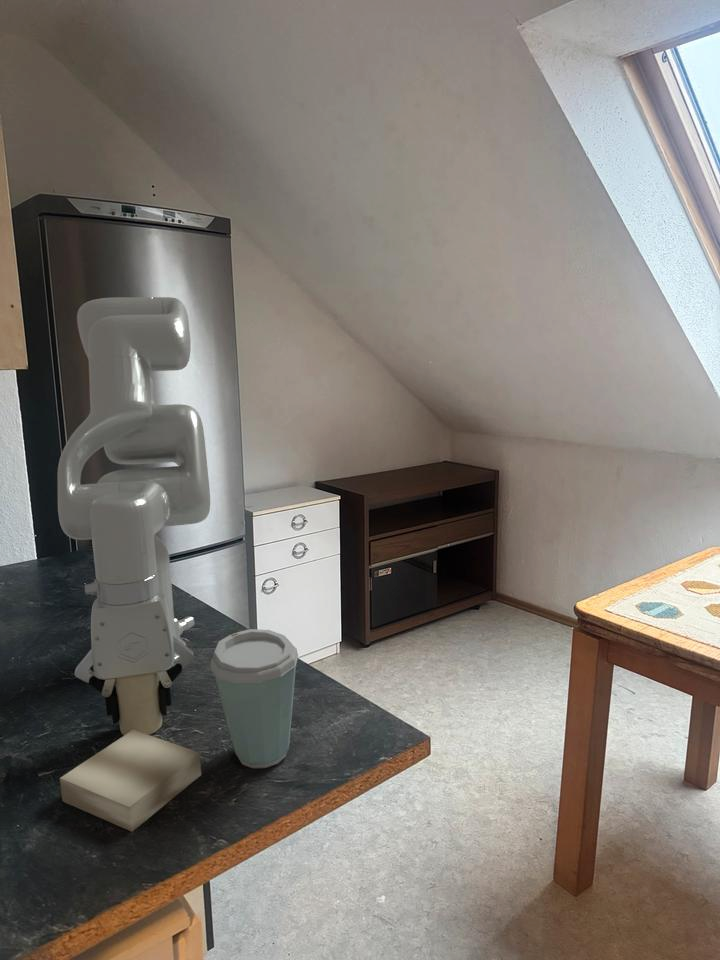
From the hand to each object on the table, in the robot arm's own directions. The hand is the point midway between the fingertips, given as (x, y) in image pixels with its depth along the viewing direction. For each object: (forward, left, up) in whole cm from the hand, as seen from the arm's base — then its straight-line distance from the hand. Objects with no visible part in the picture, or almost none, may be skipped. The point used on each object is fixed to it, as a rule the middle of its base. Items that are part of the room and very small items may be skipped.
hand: (140, 713), depth 94 cm
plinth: (+10, +9, -2) cm, 14 cm away
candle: (0, 0, -2) cm, 2 cm away
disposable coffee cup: (-2, +18, -2) cm, 19 cm away
